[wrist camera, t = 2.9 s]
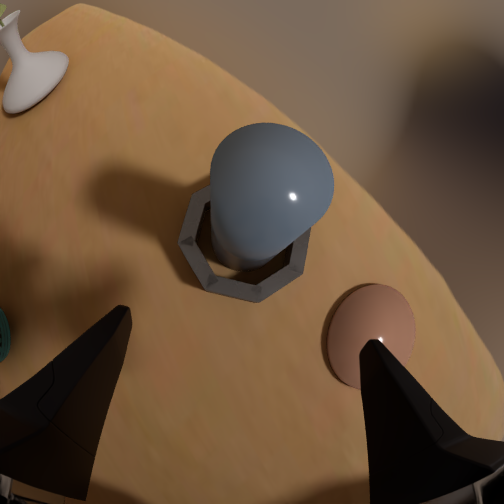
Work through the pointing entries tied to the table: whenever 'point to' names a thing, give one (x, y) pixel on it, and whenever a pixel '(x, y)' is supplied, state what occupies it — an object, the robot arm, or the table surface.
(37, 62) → the flower in vase
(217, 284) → the dark grey octagonal ring
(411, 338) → the terracotta coaster
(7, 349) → the beverage bottle
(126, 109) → the table surface
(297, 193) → the blue-grey cylinder
